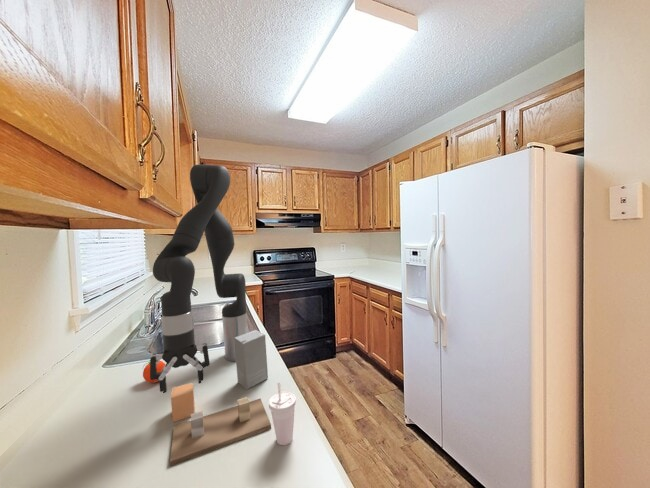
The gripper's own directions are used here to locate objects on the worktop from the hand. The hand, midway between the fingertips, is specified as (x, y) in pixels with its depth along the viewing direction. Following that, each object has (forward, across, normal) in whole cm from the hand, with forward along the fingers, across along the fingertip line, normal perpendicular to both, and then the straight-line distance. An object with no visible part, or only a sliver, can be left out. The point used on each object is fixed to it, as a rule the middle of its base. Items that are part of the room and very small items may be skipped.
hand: (182, 386), depth 74 cm
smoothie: (+8, -22, +23) cm, 32 cm away
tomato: (+8, +10, -25) cm, 28 cm away
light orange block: (+8, 0, -1) cm, 8 cm away
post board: (+8, -9, +12) cm, 16 cm away
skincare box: (+8, -20, -6) cm, 22 cm away
